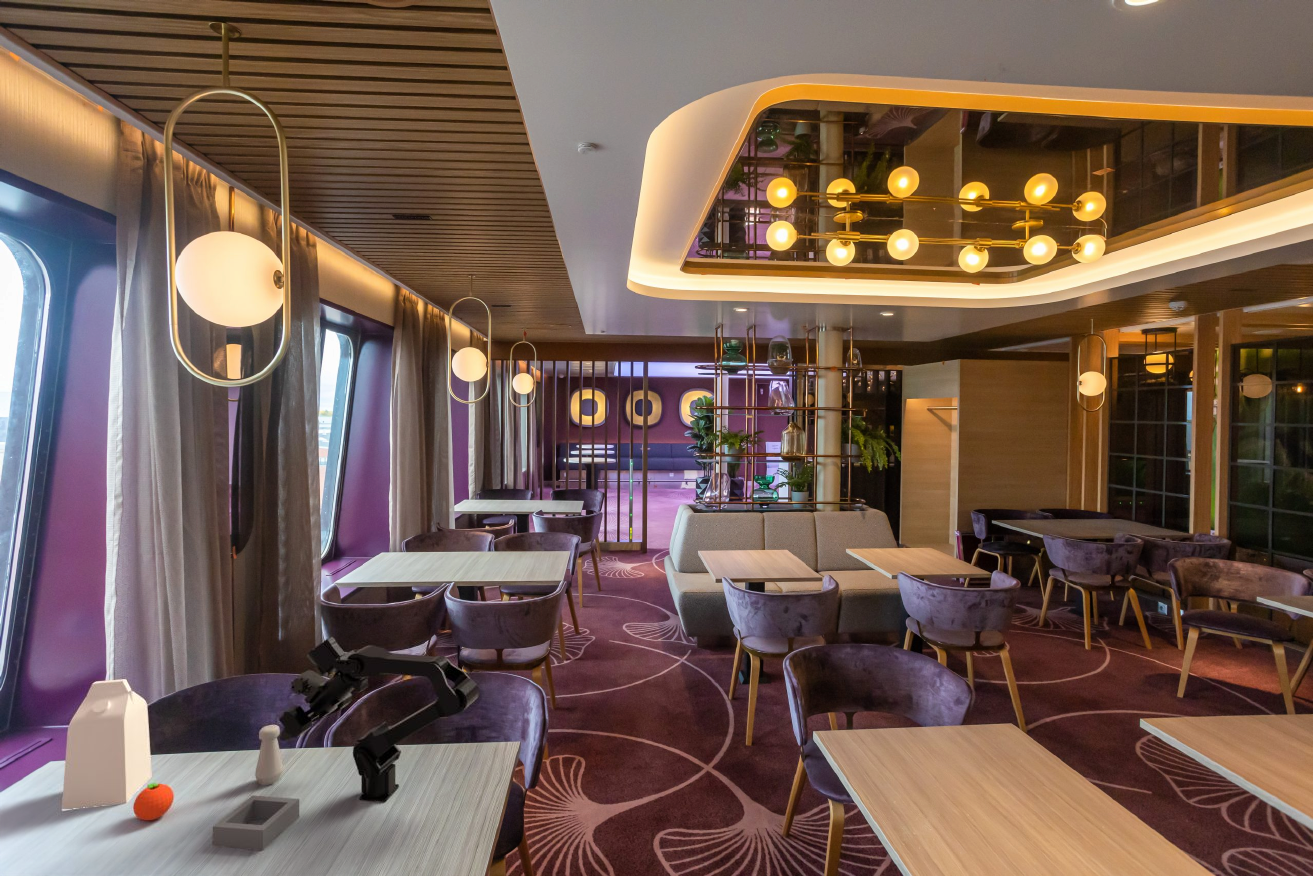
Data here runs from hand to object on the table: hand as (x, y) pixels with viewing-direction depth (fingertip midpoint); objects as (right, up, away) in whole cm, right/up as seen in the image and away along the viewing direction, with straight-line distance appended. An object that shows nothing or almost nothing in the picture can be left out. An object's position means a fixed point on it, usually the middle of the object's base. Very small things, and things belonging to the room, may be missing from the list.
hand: (295, 730), depth 151 cm
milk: (-41, -13, -4) cm, 43 cm away
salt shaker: (-7, -13, +1) cm, 15 cm away
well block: (+2, -13, -18) cm, 22 cm away
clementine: (-24, -13, -13) cm, 30 cm away
